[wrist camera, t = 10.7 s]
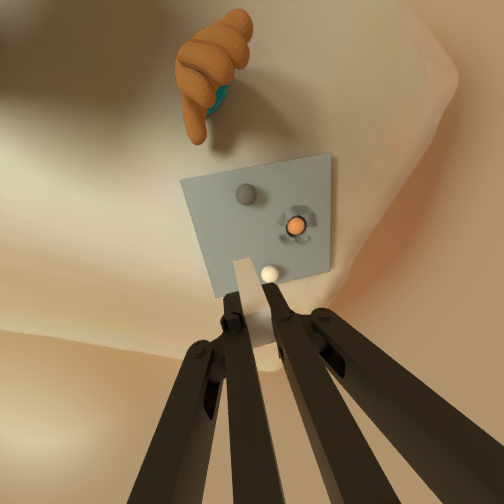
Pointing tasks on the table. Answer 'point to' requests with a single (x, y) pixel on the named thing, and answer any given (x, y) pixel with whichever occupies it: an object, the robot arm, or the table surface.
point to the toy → (211, 68)
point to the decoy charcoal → (246, 194)
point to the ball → (295, 225)
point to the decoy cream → (269, 274)
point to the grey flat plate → (263, 220)
